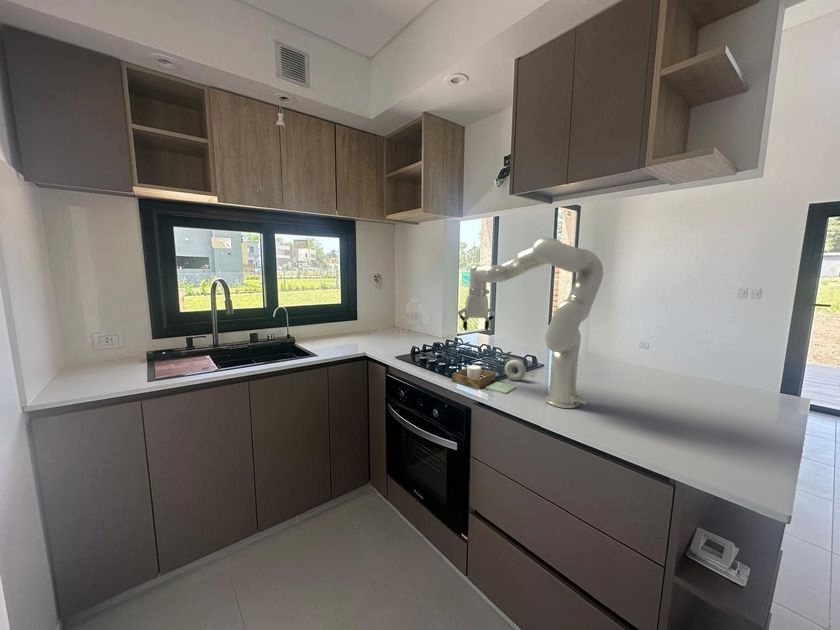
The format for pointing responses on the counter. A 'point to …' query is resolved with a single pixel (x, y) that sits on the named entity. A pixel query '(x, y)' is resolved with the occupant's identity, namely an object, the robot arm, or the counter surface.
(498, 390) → the green mat
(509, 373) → the donut
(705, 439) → the counter surface
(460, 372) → the walnut box
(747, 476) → the counter surface
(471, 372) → the white cylinder
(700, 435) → the counter surface
